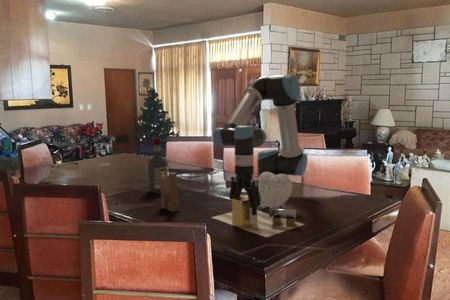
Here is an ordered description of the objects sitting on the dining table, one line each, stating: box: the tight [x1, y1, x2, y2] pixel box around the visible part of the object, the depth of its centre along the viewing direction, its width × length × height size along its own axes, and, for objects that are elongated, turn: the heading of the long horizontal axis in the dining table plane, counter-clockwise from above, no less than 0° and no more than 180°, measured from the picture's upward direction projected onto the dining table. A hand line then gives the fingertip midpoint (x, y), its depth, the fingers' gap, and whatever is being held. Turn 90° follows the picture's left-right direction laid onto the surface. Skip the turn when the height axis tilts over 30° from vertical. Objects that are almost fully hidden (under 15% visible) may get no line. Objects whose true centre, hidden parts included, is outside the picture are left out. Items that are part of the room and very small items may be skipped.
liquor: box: [147, 137, 169, 194], centre depth 222 cm, size 9×9×30 cm
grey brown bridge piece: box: [268, 207, 297, 227], centre depth 160 cm, size 10×5×7 cm, turn 75°
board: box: [210, 209, 305, 238], centre depth 166 cm, size 22×33×1 cm, turn 40°
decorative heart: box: [257, 172, 293, 209], centre depth 184 cm, size 18×11×17 cm, turn 48°
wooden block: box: [160, 172, 180, 213], centre depth 186 cm, size 4×11×18 cm, turn 39°
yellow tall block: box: [231, 194, 257, 230], centre depth 160 cm, size 8×6×11 cm
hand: (244, 219), depth 161 cm, fingers open, 9 cm apart
